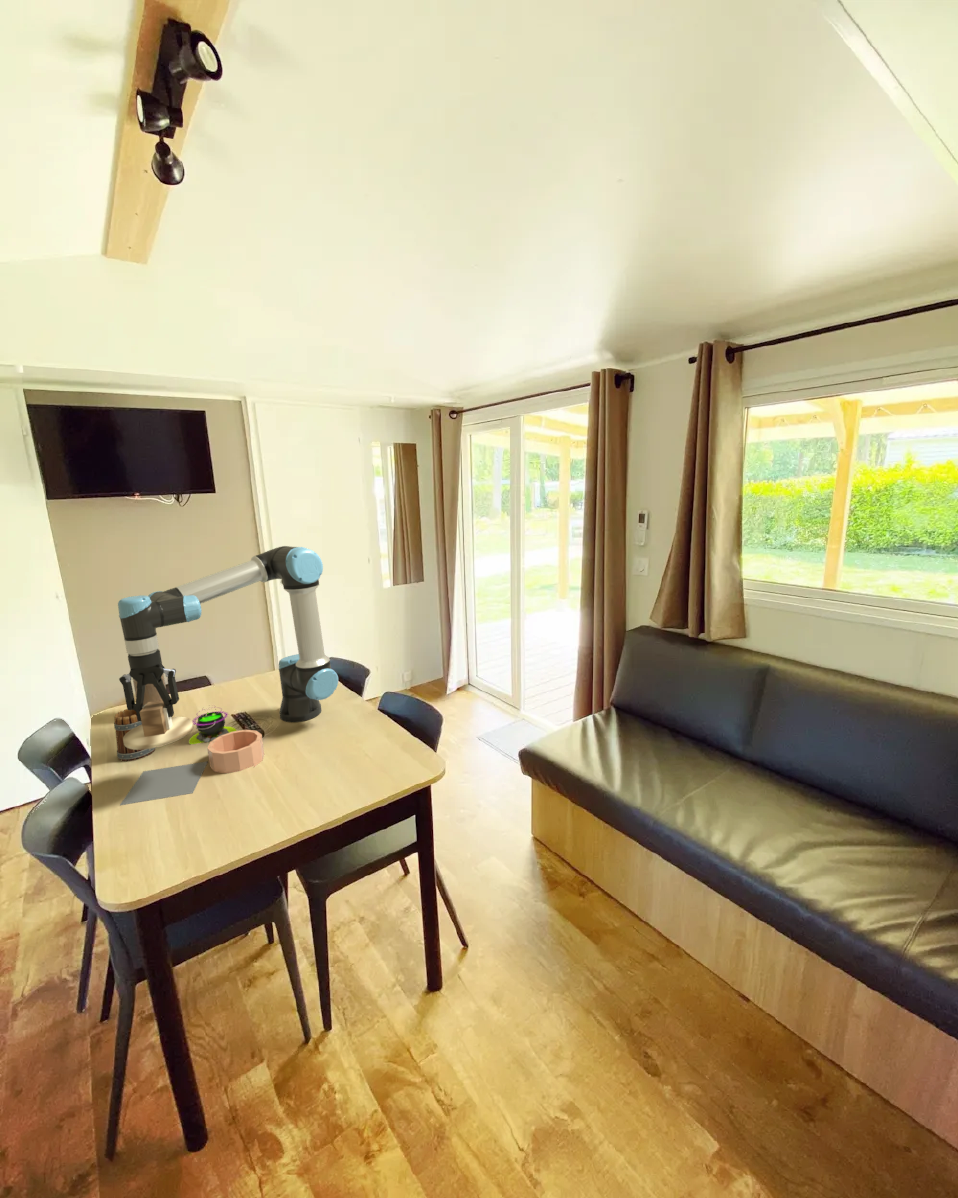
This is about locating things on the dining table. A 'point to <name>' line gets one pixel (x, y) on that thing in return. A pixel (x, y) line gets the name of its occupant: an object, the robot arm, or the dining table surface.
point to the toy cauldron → (210, 727)
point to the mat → (165, 783)
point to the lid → (156, 728)
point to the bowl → (236, 751)
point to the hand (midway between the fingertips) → (158, 728)
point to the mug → (123, 725)
